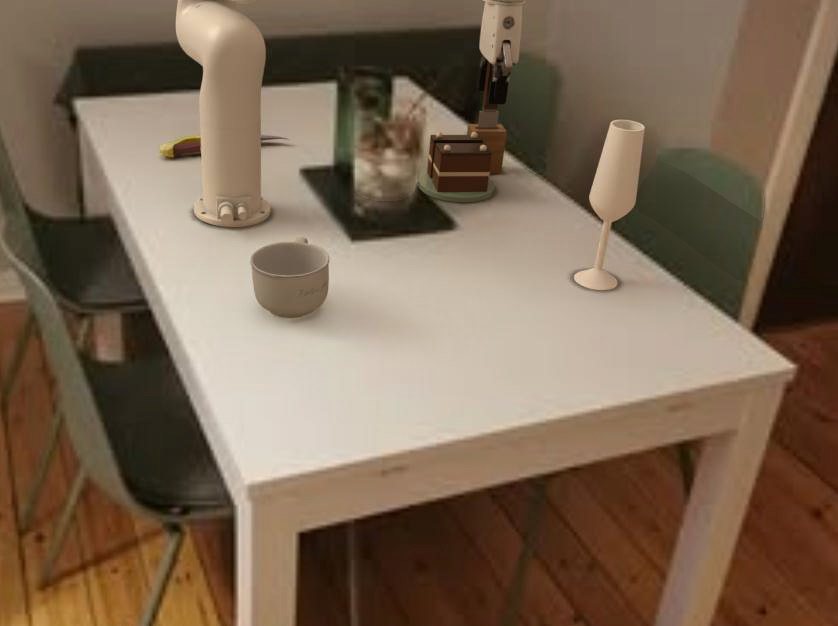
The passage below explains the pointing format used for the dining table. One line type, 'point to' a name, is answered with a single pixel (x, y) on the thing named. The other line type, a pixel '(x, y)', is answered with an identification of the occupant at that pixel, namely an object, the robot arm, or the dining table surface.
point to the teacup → (290, 277)
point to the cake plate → (429, 189)
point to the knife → (193, 145)
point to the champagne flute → (613, 191)
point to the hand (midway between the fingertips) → (491, 96)
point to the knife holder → (492, 144)
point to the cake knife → (489, 113)
